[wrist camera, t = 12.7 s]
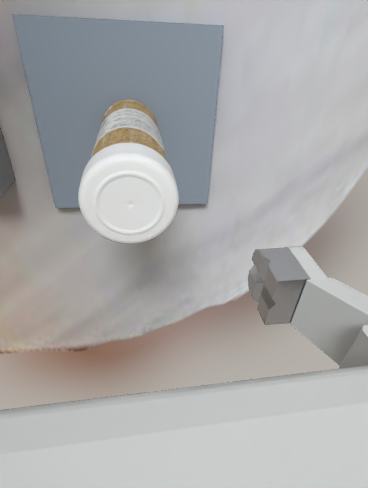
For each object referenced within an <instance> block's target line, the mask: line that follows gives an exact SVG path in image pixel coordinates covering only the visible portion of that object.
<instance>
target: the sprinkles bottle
mask: <svg viewBox="0 0 368 488" xmlns="http://www.w3.org/2000/svg"><path fill="white" fill-rule="evenodd" d="M78 201H79V206H80V210H81V213H82V215H83V217H84V219H85V220H86V222H87V223H88V224H89V226H90V227H91V228H92V229H93V230H94V231H95V232H97V233H98V234H100V235H101V236H103V237H105V238H107V239H109V240H112V241H115V242H119V243H127V244H133V243H141V242H145V241H148V240H150V239H153V238H155V237H157V236H158V235H160V234H161V233H162V232H164V231H165V230H166V229H167V228H168V226H169V225H170V224H171V223H172V221H173V219H174V217H175V215H176V213H177V209H178V205H179V194H178V188H177V184H176V180H175V177H174V174H173V171H172V169H171V167H170V165H169V164H168V162H167V161H166V158H165V154H164V147H163V143H162V140H161V136H160V133H159V130H158V125H157V121H156V118H155V116H154V115H153V113H152V112H151V110H150V109H149V108H148V107H147V106H145V105H144V104H143V103H141V102H138V101H136V100H131V99H126V100H120V101H117V102H115V103H114V104H112V105H111V106H110V107H109V108H108V109H107V110H106V112H105V113H104V116H103V118H102V122H101V127H100V130H99V133H98V136H97V139H96V142H95V146H94V149H93V152H92V156H91V159H90V160H89V162H88V163H87V165H86V167H85V169H84V172H83V175H82V178H81V182H80V186H79V192H78Z"/></svg>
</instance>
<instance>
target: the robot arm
mask: <svg viewBox="0 0 368 488" xmlns="http://www.w3.org/2000/svg"><path fill="white" fill-rule="evenodd" d="M252 261H253V263H254V266H253V267H252V268H251V269H250V270H249V276H248V286H249V290H250V294H251V296H252V298H253V299H255V300H256V301H257V302H259V303H258V308H257V309H258V311H259V313H260V316H261V318H262V320H263V322H264V324H265V325H270V324H285V323H291V325H292V326H293V327H294V328H295V329H297V330H298V331H299V332H300V333H301V334H303V335H304V336H305V337H306V338H307V339H309V340H310V341H311V342H312V343H313V344H315V345H316V346H317V347H318V348H319V349H320V350H322V351H323V352H324V353H325V354H326V355H328V356H329V357H330V358H331V359H332V360H334V361H335V362H336V363H337V364H338V365H340V367H339V369H332V370H324V371H316V372H308V373H300V374H291V375H283V376H276V377H267V378H258V379H251V380H242V381H235V382H226V383H218V384H210V385H202V386H194V387H186V388H177V389H169V390H161V391H153V392H144V393H137V394H128V395H120V396H111V397H104V398H95V399H87V400H78V401H71V402H62V403H53V404H45V405H37V406H30V407H20V408H13V409H4V410H0V488H368V296H366V295H364V294H362V293H360V292H358V291H356V290H355V289H353V288H351V287H349V286H347V285H345V284H343V283H341V282H339V281H337V280H335V279H333V278H327V277H326V275H325V274H324V273H323V271H322V270H321V269H320V268H319V267H318V265H317V264H316V263H315V261H314V260H313V259H312V258H311V256H310V255H309V254H308V252H307V251H306V250H305V249H304V248H303V247H301V246H292V247H285V248H270V249H255V251H254V253H253V256H252Z"/></svg>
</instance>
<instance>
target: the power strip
mask: <svg viewBox="0 0 368 488" xmlns="http://www.w3.org/2000/svg"><path fill="white" fill-rule="evenodd" d="M14 180H15V176H14V173H13V169H12V166H11V163H10V159H9V156H8V152H7V149H6V145H5V142H4V139H3V135H2V132H1V128H0V197H2V196H3V194H4V193H5V192H6V191H7V189H8V188H9V187H10V185H11V184H12V183H13V182H14Z"/></svg>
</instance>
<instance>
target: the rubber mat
mask: <svg viewBox="0 0 368 488" xmlns="http://www.w3.org/2000/svg"><path fill="white" fill-rule="evenodd" d="M12 16H13V20H14V25H15V29H16V33H17V38H18V42H19V47H20V51H21V56H22V60H23V65H24V69H25V74H26V78H27V83H28V87H29V92H30V96H31V100H32V105H33V109H34V114H35V118H36V123H37V127H38V132H39V136H40V141H41V145H42V150H43V154H44V159H45V163H46V167H47V172H48V176H49V181H50V185H51V190H52V194H53V199H54V203H55V208H78V207H80V206H79V201H78V192H79V186H80V182H81V178H82V175H83V172H84V169H85V167H86V165H87V163H88V162H89V160H90V159H91V156H92V152H93V149H94V146H95V142H96V139H97V136H98V133H99V130H100V127H101V122H102V118H103V116H104V113H105V112H106V110H107V109H108V108H109V107H110V106H111V105H112V104H114V103H115V102H117V101H120V100H126V99H131V100H136V101H138V102H141V103H143V104H144V105H145V106H147V107H148V108H149V109H150V110H151V112H152V113H153V115H154V116H155V118H156V121H157V125H158V130H159V133H160V136H161V140H162V143H163V147H164V154H165V158H166V161H167V162H168V164H169V165H170V167H171V169H172V171H173V174H174V177H175V180H176V184H177V188H178V194H179V204H207V202H208V191H209V180H210V169H211V158H212V147H213V137H214V126H215V115H216V104H217V93H218V82H219V72H220V61H221V50H222V39H223V28H224V26H222V25H203V24H184V23H165V22H146V21H127V20H108V19H89V18H70V17H51V16H32V15H13V14H12Z"/></svg>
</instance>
